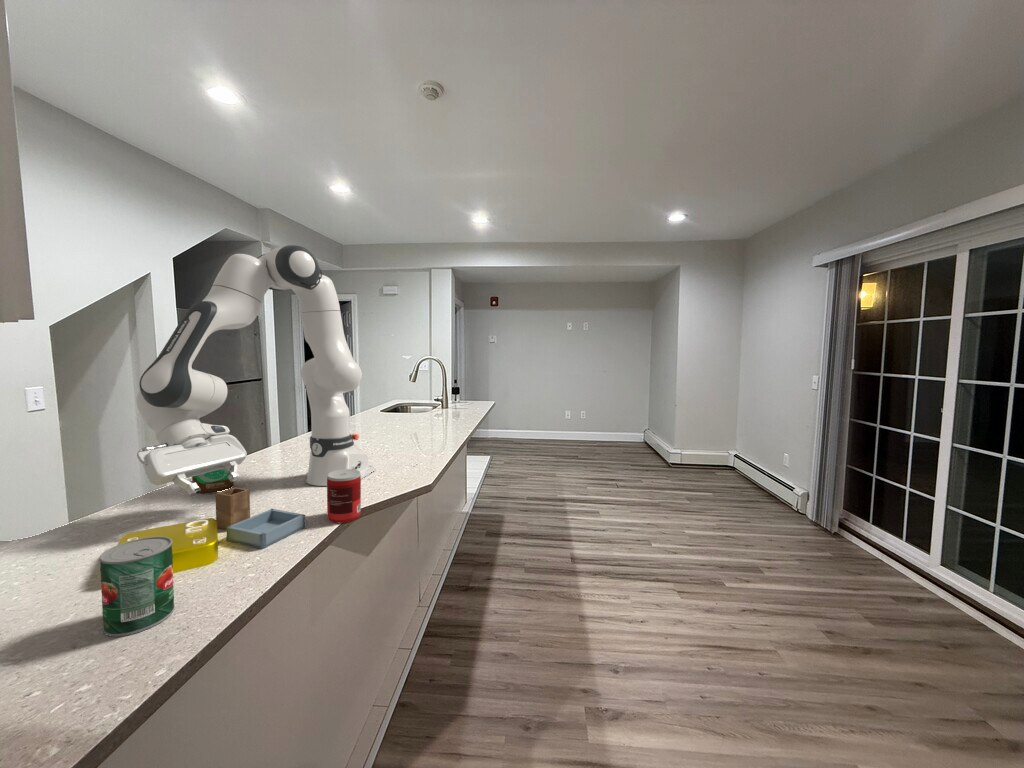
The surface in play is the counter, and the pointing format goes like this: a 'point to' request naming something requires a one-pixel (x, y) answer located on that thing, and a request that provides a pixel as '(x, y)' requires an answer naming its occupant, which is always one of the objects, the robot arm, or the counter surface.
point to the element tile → (186, 542)
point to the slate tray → (266, 528)
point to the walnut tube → (232, 507)
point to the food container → (213, 481)
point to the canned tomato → (137, 585)
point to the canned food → (343, 495)
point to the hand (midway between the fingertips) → (216, 485)
